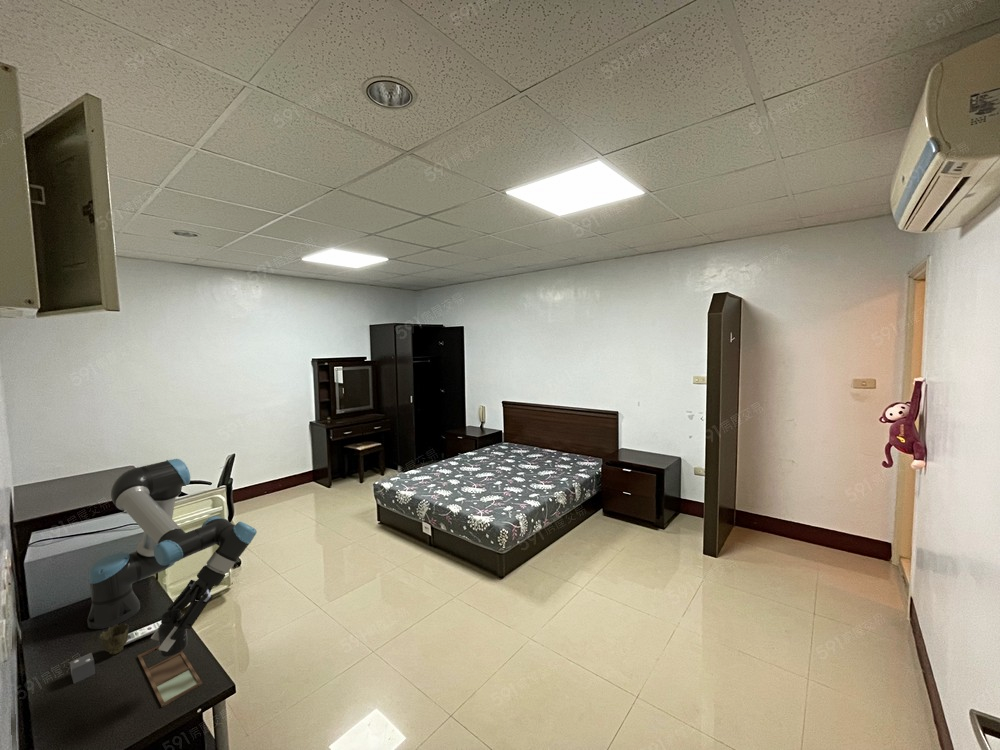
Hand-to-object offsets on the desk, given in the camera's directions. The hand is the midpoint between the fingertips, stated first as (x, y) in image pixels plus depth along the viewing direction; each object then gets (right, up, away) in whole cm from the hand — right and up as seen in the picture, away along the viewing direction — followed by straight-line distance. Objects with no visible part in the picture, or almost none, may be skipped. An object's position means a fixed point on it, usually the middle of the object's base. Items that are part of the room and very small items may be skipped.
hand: (158, 644), depth 124 cm
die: (-32, -16, +9) cm, 37 cm away
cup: (-31, -15, +19) cm, 39 cm away
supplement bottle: (+2, -4, +3) cm, 6 cm away
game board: (-6, -16, +11) cm, 20 cm away
